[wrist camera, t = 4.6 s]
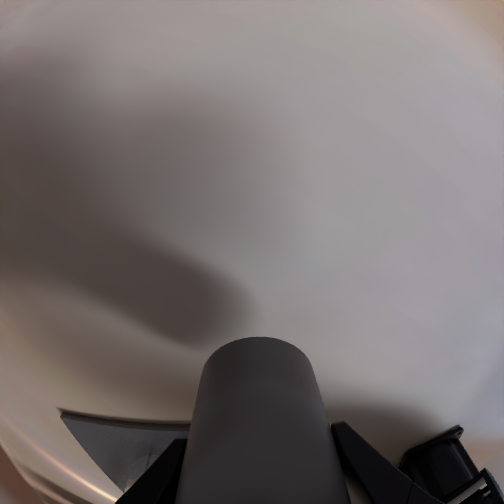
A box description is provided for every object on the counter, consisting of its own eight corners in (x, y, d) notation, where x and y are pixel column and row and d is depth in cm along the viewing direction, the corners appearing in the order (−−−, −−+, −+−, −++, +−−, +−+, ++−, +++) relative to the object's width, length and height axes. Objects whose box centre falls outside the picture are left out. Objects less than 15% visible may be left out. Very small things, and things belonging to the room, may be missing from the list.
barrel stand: (271, 419, 15) (275, 465, 11) (286, 501, 18) (289, 530, 15) (63, 412, 15) (44, 441, 12) (133, 496, 19) (125, 520, 15)
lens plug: (321, 316, 10) (415, 534, 2) (323, 413, 11) (363, 570, 3) (176, 335, 10) (96, 544, 2) (209, 426, 11) (189, 582, 3)
